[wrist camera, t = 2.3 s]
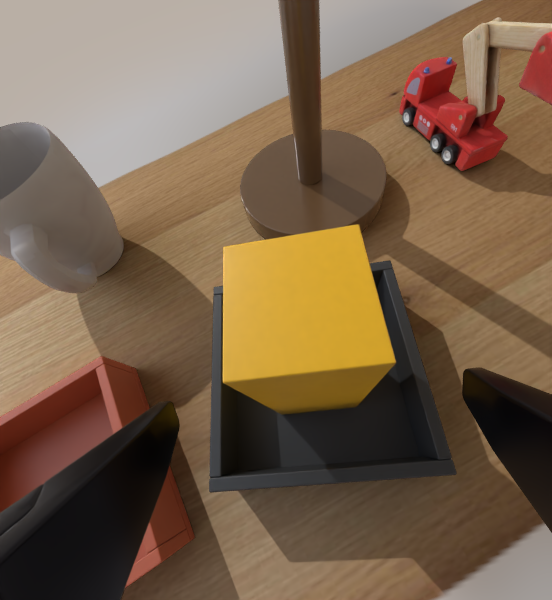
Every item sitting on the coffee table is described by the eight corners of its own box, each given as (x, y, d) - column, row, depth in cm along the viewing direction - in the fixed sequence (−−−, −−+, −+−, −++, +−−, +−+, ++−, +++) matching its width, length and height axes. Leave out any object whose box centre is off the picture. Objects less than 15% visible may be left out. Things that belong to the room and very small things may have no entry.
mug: (46, 246, 28) (-77, 161, 20) (127, 203, 29) (43, 104, 20) (66, 345, 23) (-93, 289, 14) (165, 289, 23) (72, 203, 15)
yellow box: (356, 407, 17) (397, 363, 7) (281, 414, 17) (221, 383, 8) (342, 335, 19) (358, 223, 9) (275, 343, 19) (222, 246, 10)
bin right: (430, 467, 16) (458, 474, 12) (231, 482, 17) (208, 492, 14) (380, 287, 21) (390, 259, 17) (230, 309, 22) (213, 286, 19)
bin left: (195, 537, 16) (162, 562, 13) (5, 671, 15) (-86, 737, 11) (136, 368, 21) (101, 355, 18) (-10, 457, 20) (-75, 461, 16)
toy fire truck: (424, 102, 28) (466, -45, 20) (526, 191, 22) (653, 33, 13) (393, 114, 28) (422, -27, 20) (487, 206, 22) (589, 58, 13)
